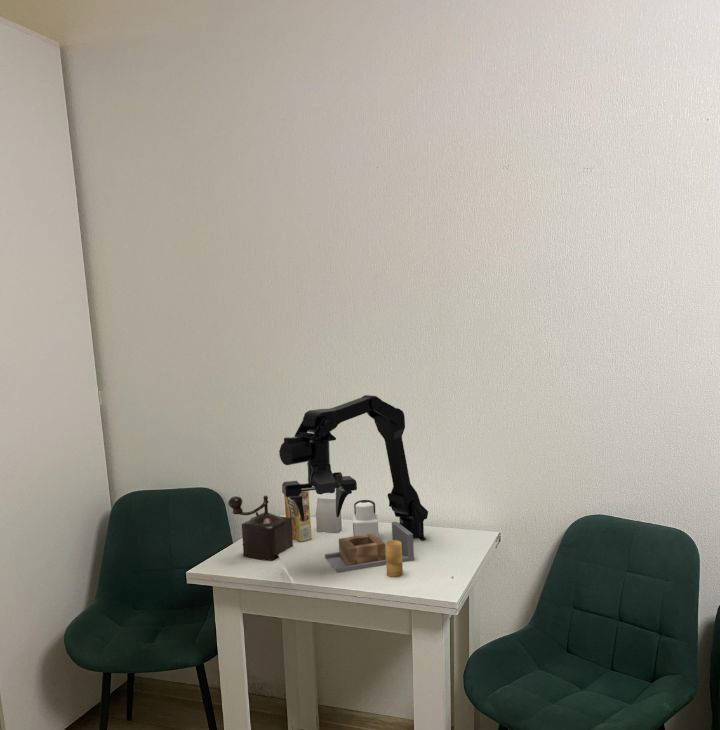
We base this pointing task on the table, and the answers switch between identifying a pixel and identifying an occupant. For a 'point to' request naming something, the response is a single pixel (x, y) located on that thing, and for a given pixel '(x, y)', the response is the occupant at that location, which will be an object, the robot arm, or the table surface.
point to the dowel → (394, 558)
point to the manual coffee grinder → (263, 532)
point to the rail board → (397, 534)
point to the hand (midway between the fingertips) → (320, 518)
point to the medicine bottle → (365, 518)
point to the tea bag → (327, 516)
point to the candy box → (299, 517)
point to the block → (361, 549)
